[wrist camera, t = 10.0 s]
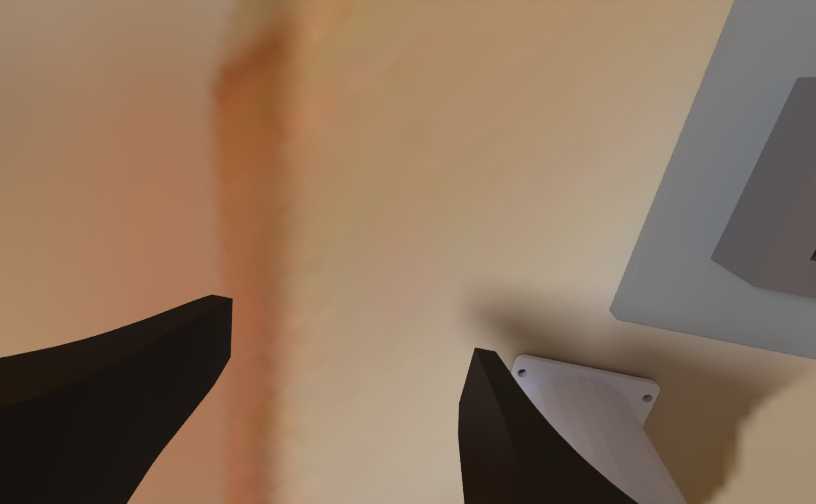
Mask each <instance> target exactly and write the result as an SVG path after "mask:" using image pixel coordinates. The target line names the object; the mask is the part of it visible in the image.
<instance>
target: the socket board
mask: <svg viewBox="0 0 816 504" xmlns="http://www.w3.org/2000/svg"><path fill="white" fill-rule="evenodd" d="M610 311H611V313H612V314H613V315H614V317H615V318H616V319H617V320H622V321H627V322H632V323H637V324H642V325H647V326H652V327H656V328H661V329H666V330H671V331H676V332H681V333H686V334H691V335H696V336H701V337H706V338H711V339H716V340H721V341H726V342H731V343H736V344H741V345H746V346H751V347H756V348H761V349H766V350H771V351H776V352H781V353H786V354H791V355H796V356H801V357H806V358H811V359H816V0H735V2H734V4H733V7H732V9H731V12H730V14H729V17H728V19H727V22H726V24H725V27H724V29H723V31H722V34H721V36H720V39H719V41H718V44H717V46H716V49H715V51H714V54H713V56H712V59H711V61H710V64H709V66H708V68H707V71H706V73H705V76H704V78H703V81H702V83H701V86H700V88H699V91H698V93H697V96H696V98H695V101H694V103H693V105H692V108H691V110H690V113H689V115H688V118H687V120H686V123H685V125H684V128H683V130H682V133H681V135H680V138H679V140H678V142H677V145H676V147H675V150H674V152H673V155H672V157H671V160H670V162H669V165H668V167H667V170H666V172H665V174H664V177H663V179H662V182H661V184H660V187H659V189H658V192H657V194H656V197H655V199H654V202H653V204H652V207H651V209H650V211H649V214H648V216H647V219H646V221H645V224H644V226H643V229H642V231H641V234H640V236H639V239H638V241H637V244H636V246H635V248H634V251H633V253H632V256H631V258H630V261H629V263H628V266H627V268H626V271H625V273H624V276H623V278H622V281H621V283H620V285H619V288H618V290H617V293H616V295H615V298H614V300H613V303H612V305H611V308H610Z"/></svg>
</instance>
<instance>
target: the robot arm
mask: <svg viewBox="0 0 816 504" xmlns="http://www.w3.org/2000/svg"><path fill="white" fill-rule="evenodd" d="M232 301H233V299H232V298H227V297H222V296H217V295H209V296H206V297H203V298H200V299H197V300H194V301H192V302H189V303H186V304H184V305H181V306H179V307H176V308H173V309H171V310H168V311H165V312H163V313H160V314H158V315H155V316H152V317H150V318H147V319H144V320H142V321H138V322H136V323H133V324H130V325H127V326H124V327H121V328H118V329H115V330H112V331H109V332H106V333H103V334H100V335H96V336H93V337H90V338H86V339H82V340H79V341H75V342H71V343H67V344H63V345H59V346H55V347H51V348H46V349H42V350H37V351H32V352H27V353H22V354H17V355H13V356H8V357H2V358H0V504H127V502H128V501H129V499H130V498H131V496H132V494H133V493H134V491H135V490H136V488H137V486H138V485H139V484H140V482H141V481H142V479H143V478H144V476H145V475H146V473H147V471H148V470H149V468H150V467H151V465H152V464H153V463H154V461H155V460H156V458H157V457H158V455H159V454H160V453H161V452H162V450H163V449H164V448H165V446H166V445H167V444H168V443H169V441H170V440H171V439H172V438H173V436H174V435H175V434H176V433H177V431H178V430H179V429H180V428H181V426H182V425H183V424H184V423H185V421H186V420H187V419H188V417H189V416H190V415H191V414H192V413H193V411H194V410H195V409H196V408H197V406H198V405H199V404H200V402H201V401H202V400H203V399H204V397H205V396H206V395H207V393H208V392H209V391H210V389H211V388H212V387H213V386H214V384H215V383H216V381H217V379H218V378H219V376H220V374H221V373H222V371H223V369H224V368H225V366H226V364H227V362H228V360H229V359H230V357H231V330H232ZM521 369H524V370H525V372H523V373H519V372H518V371H519V370H521ZM659 393H660V387H659V386H658V384H657V383H656V382H655V381H653V380H649V379H645V378H640V377H635V376H630V375H625V374H620V373H615V372H610V371H605V370H600V369H595V368H590V367H585V366H580V365H575V364H570V363H565V362H560V361H555V360H550V359H545V358H540V357H536V356H531V355H519V356H518V357H517V358H516V359H515V361H514V365H513V368H512V371H511V373H510V371H509V370H508V369H507V367H506V366H505V364H504V363H503V361H502V360H501V358H500V357H499V356H498V354H497V353H496V352H495V351H490V350H485V349H480V348H475V349H474V353H473V356H472V360H471V363H470V367H469V370H468V374H467V377H466V381H465V384H464V388H463V391H462V395H461V399H460V402H459V420H458V440H459V451H460V462H461V472H462V482H463V493H464V503H465V504H687V502H686V500H685V499H684V497H683V495H682V494H681V492H680V490H679V489H678V487H677V485H676V484H675V482H674V480H673V478H672V477H671V475H670V473H669V472H668V470H667V468H666V467H665V465H664V463H663V461H662V460H661V458H660V456H659V455H658V453H657V451H656V450H655V448H654V446H653V444H652V443H651V441H650V439H649V438H648V436H647V434H646V433H645V431H644V429H643V425H644V423H645V421H646V419H647V417H648V415H649V413H650V411H651V409H652V407H653V405H654V403H655V401H656V399H657V397H658V395H659ZM645 395H648V397H645V398H643V397H644V396H645Z"/></svg>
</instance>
